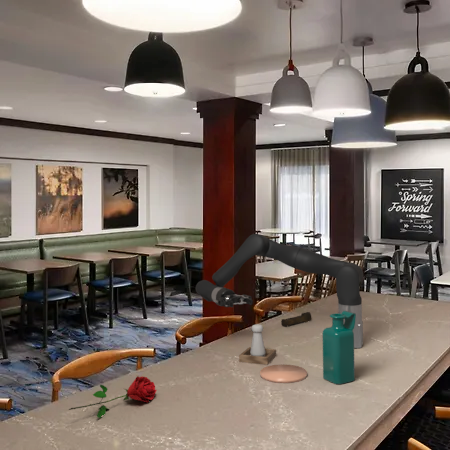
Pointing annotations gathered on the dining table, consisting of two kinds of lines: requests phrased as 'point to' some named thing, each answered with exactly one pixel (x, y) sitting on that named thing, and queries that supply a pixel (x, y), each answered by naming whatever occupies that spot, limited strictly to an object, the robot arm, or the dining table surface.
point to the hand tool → (296, 319)
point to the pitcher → (339, 349)
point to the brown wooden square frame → (257, 357)
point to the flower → (128, 393)
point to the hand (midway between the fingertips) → (242, 303)
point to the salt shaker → (257, 341)
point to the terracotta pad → (283, 373)
